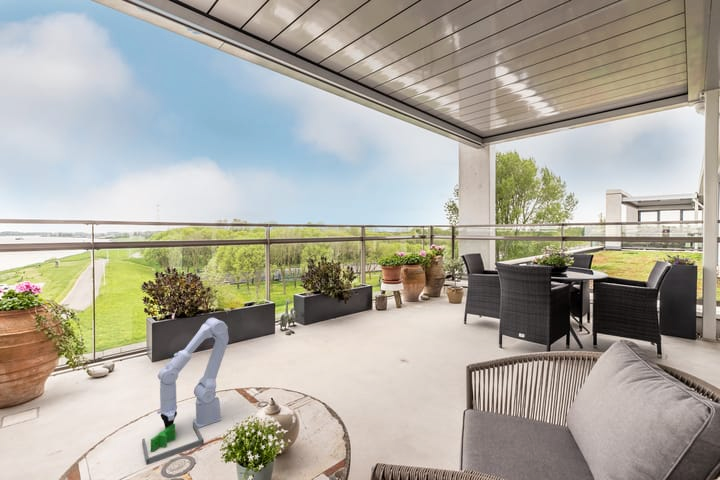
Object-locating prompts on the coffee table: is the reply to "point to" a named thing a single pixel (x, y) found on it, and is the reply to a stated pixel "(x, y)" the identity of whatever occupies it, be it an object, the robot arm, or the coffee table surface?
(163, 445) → the green stepped block
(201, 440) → the grey u-shaped frame
